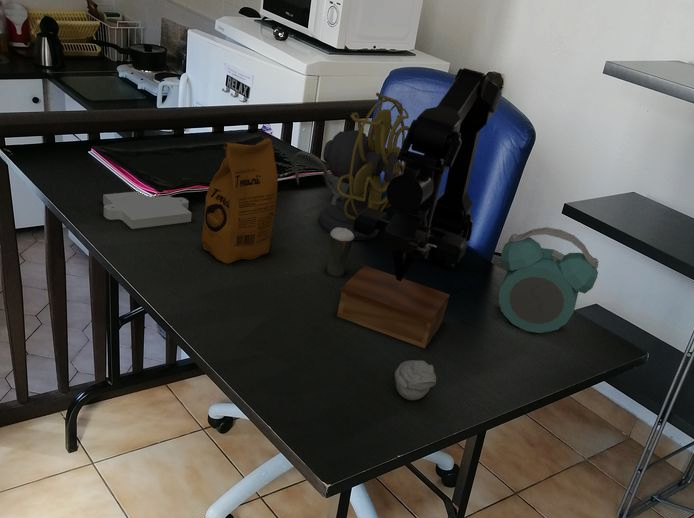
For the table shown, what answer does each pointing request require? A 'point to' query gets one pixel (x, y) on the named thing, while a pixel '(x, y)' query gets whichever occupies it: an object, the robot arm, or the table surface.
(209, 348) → the table surface
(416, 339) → the brown open rectangular box
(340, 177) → the electric fan
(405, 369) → the grey lumpy ball
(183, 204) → the mounting plate
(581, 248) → the alarm clock
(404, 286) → the lid
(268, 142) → the coffee package
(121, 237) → the table surface
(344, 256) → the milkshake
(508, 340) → the table surface
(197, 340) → the table surface
